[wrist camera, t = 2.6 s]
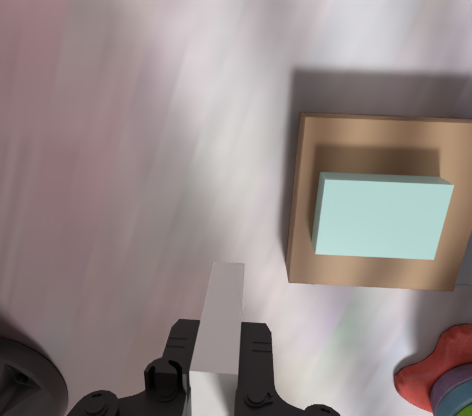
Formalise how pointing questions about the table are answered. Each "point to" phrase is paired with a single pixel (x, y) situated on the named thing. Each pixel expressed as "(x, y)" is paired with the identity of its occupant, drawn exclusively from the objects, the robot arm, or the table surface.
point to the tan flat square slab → (388, 163)
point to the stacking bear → (442, 376)
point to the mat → (466, 266)
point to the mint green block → (380, 215)
